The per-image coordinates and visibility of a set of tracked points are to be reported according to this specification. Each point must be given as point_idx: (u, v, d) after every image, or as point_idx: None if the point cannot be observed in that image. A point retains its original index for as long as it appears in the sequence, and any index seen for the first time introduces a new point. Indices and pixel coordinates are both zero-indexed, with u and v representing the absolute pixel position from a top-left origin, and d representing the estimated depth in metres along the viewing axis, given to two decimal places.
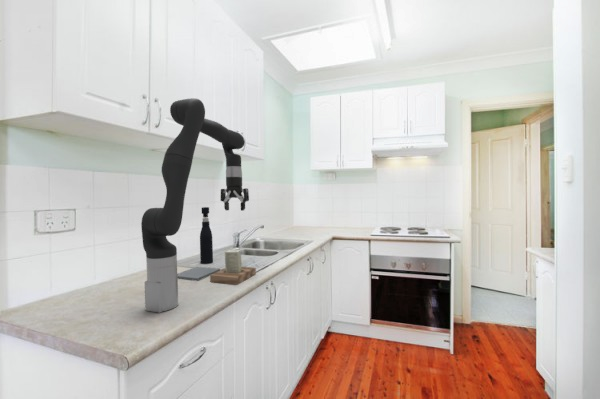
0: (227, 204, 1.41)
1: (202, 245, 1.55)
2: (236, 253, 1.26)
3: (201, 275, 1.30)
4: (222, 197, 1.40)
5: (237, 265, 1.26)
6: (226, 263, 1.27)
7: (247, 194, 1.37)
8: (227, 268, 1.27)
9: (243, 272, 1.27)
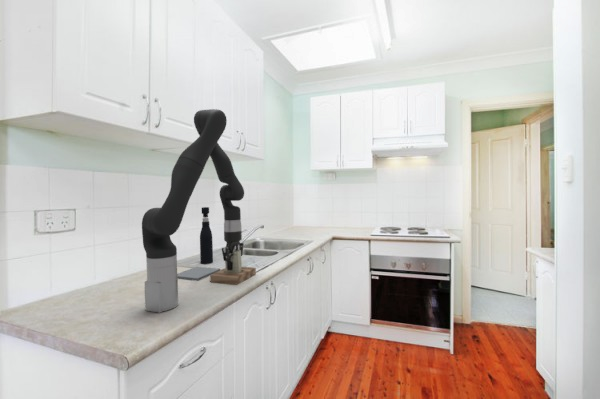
0: None
1: (202, 245, 1.55)
2: (236, 253, 1.26)
3: (201, 275, 1.30)
4: (229, 256, 1.24)
5: (237, 265, 1.26)
6: (226, 263, 1.27)
7: None
8: None
9: (243, 272, 1.27)
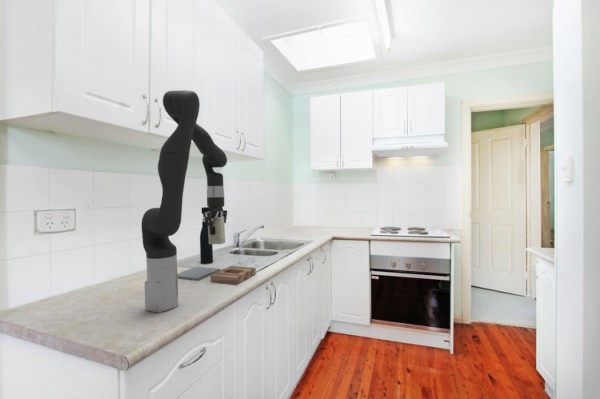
0: None
1: (202, 245, 1.55)
2: (218, 218, 1.29)
3: (201, 275, 1.30)
4: (211, 221, 1.26)
5: (219, 230, 1.29)
6: (209, 228, 1.30)
7: None
8: (209, 233, 1.30)
9: (243, 272, 1.27)
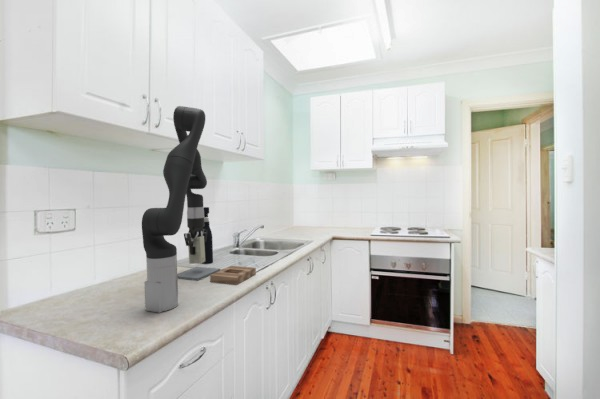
0: None
1: None
2: (198, 239, 1.33)
3: (201, 275, 1.30)
4: (191, 241, 1.31)
5: (199, 250, 1.33)
6: (189, 248, 1.34)
7: None
8: None
9: (243, 272, 1.27)
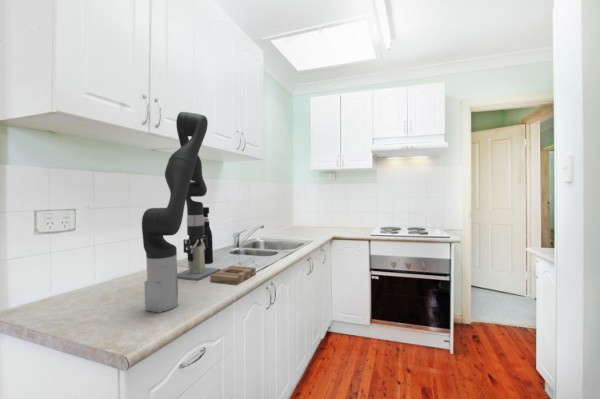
0: None
1: None
2: (198, 248, 1.33)
3: (201, 275, 1.30)
4: (189, 248, 1.30)
5: (199, 260, 1.33)
6: None
7: None
8: (189, 262, 1.34)
9: (243, 272, 1.27)
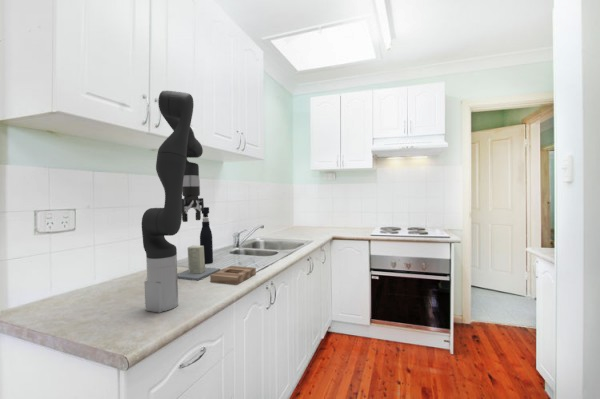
0: None
1: (202, 245, 1.55)
2: (198, 248, 1.33)
3: (201, 275, 1.30)
4: (184, 208, 1.28)
5: (199, 260, 1.33)
6: (189, 258, 1.34)
7: None
8: (189, 262, 1.34)
9: (243, 272, 1.27)
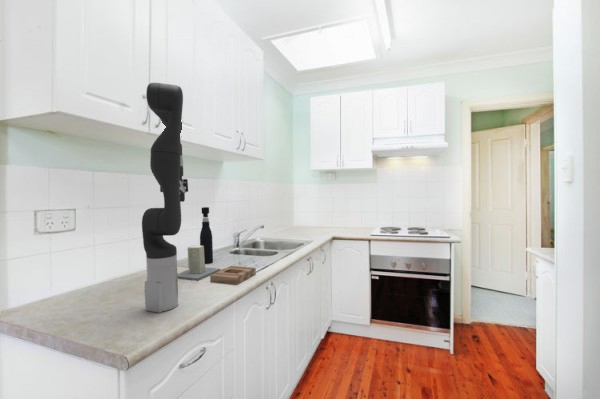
0: None
1: (202, 245, 1.55)
2: (198, 248, 1.33)
3: (201, 275, 1.30)
4: None
5: (199, 260, 1.33)
6: (189, 258, 1.34)
7: None
8: (189, 262, 1.34)
9: (243, 272, 1.27)
